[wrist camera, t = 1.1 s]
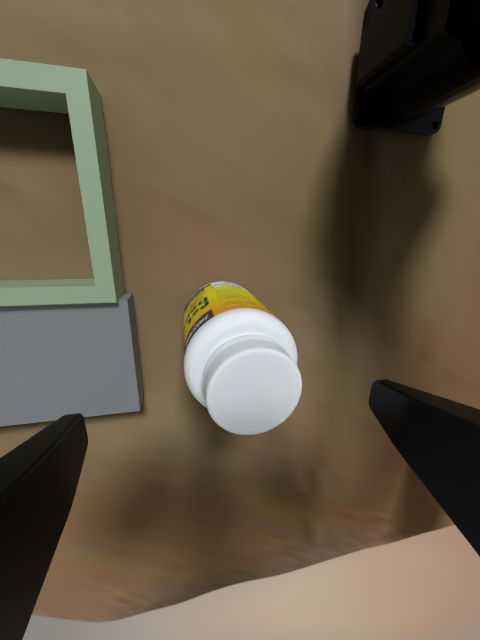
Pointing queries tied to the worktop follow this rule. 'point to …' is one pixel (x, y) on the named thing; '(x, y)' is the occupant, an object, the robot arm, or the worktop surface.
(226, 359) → the supplement bottle
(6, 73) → the green flat frame
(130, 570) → the worktop surface
